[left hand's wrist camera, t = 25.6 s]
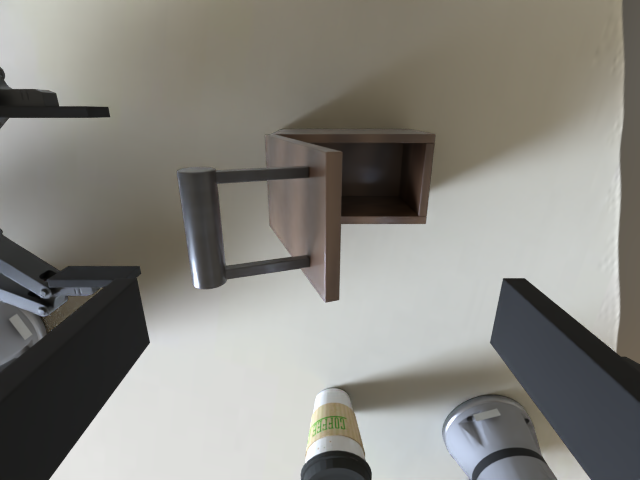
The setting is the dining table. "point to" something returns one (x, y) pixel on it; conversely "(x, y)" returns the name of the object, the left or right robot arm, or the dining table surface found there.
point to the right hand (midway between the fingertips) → (118, 201)
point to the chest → (378, 172)
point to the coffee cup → (334, 441)
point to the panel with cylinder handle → (271, 215)
